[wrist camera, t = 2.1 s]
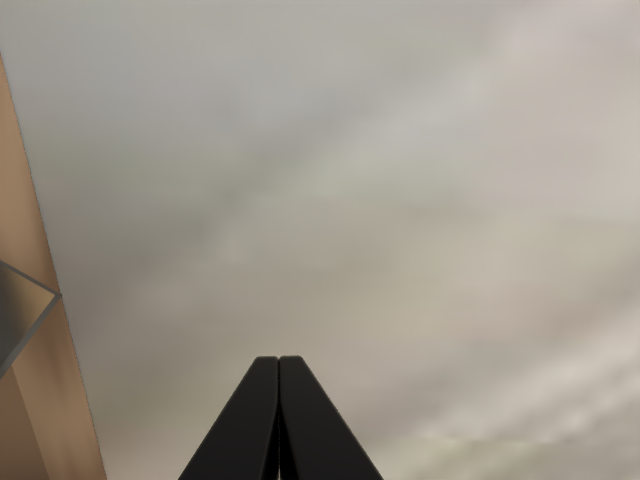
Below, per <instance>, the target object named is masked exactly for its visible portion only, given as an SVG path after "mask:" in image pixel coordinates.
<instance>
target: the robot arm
mask: <svg viewBox="0 0 640 480" xmlns="http://www.w3.org/2000/svg"><path fill="white" fill-rule="evenodd" d="M279 472H280V480H384V479H383V478H382V476H381V475H380V473H379V472H378V470H377V469H376V467H375V466H374V464H373V463H372V461H371V460H370V458H369V457H368V455H367V454H366V452H365V451H364V449H363V448H362V446H361V445H360V443H359V442H358V440H357V439H356V437H355V436H354V434H353V433H352V431H351V430H350V428H349V427H348V425H347V424H346V422H345V421H344V419H343V418H342V416H341V415H340V413H339V412H338V410H337V409H336V407H335V406H334V404H333V403H332V401H331V400H330V398H329V397H328V395H327V394H326V392H325V391H324V389H323V388H322V386H321V385H320V383H319V382H318V380H317V379H316V377H315V376H314V374H313V373H312V371H311V370H310V368H309V367H308V365H307V364H306V362H305V361H304V359H303V358H302V357H301V356H281V357H280V358H279V359H278V357H276V356H260V357H257V358H256V359H255V360H254V361H253V363H252V365H251V366H250V368H249V369H248V371H247V372H246V374H245V376H244V377H243V379H242V380H241V382H240V383H239V385H238V386H237V388H236V390H235V391H234V393H233V394H232V396H231V397H230V399H229V401H228V402H227V404H226V405H225V407H224V408H223V410H222V411H221V413H220V415H219V416H218V418H217V419H216V421H215V422H214V424H213V426H212V427H211V429H210V430H209V432H208V433H207V435H206V436H205V438H204V440H203V441H202V443H201V444H200V446H199V447H198V449H197V451H196V452H195V454H194V455H193V457H192V458H191V460H190V461H189V463H188V465H187V466H186V468H185V469H184V471H183V472H182V474H181V476H180V477H179V479H178V480H279Z"/></svg>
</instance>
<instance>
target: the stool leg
mask: <svg viewBox="0 0 640 480" xmlns="http://www.w3.org/2000/svg"><path fill="white" fill-rule="evenodd" d="M61 296H62V294H60V293H58V292H56V291H55V290H53V289H51V288H49V287H47V286H46V285H44V284H42V283H40V282H39V281H37V280H35V279H33V278H32V277H30V276H28V275H26V274H25V273H23V272H21V271H19V270H18V269H16V268H14V267H12V266H10V265H9V264H7V263H5V262H3V261H2V260H0V379H1V378H2V377H3V375H4V374H5V373H6V371H7V370H8V369H9V367H10V366H11V364H12V363H13V362H14V360H15V359H16V358H17V356H18V355H19V354H20V352H21V351H22V349H23V348H24V347H25V345H26V344H27V343H28V341H29V340H30V338H31V337H32V336H33V334H34V333H35V332H36V330H37V329H38V328H39V326H40V325H41V323H42V322H43V321H44V319H45V318H46V317H47V315H48V314H49V313H50V311H51V310H52V308H53V307H54V306H55V304H56V303H57V302H58V300H59V299H60V298H61Z"/></svg>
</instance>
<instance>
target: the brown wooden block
mask: <svg viewBox="0 0 640 480" xmlns="http://www.w3.org/2000/svg"><path fill="white" fill-rule="evenodd" d="M0 260H2V261H3V262H5V263H7V264H9V265H10V266H12V267H14V268H16V269H18V270H19V271H21V272H23V273H25V274H26V275H28V276H30V277H32V278H33V279H35V280H37V281H39V282H40V283H42V284H44V285H46V286H47V287H49V288H51V289H53V290H55V291H56V292H58V293H60V290H59V286H58V282H57V278H56V274H55V270H54V266H53V262H52V258H51V254H50V250H49V246H48V242H47V238H46V234H45V230H44V226H43V222H42V218H41V214H40V210H39V206H38V202H37V198H36V194H35V190H34V186H33V182H32V178H31V174H30V170H29V166H28V162H27V158H26V154H25V150H24V146H23V142H22V138H21V134H20V130H19V126H18V122H17V118H16V114H15V110H14V106H13V102H12V98H11V94H10V90H9V86H8V82H7V78H6V74H5V70H4V66H3V62H2V58H1V54H0ZM0 480H107V478H106V474H105V470H104V466H103V462H102V458H101V454H100V450H99V446H98V442H97V438H96V434H95V430H94V426H93V422H92V418H91V414H90V410H89V406H88V402H87V398H86V394H85V390H84V386H83V382H82V378H81V374H80V370H79V366H78V362H77V358H76V354H75V350H74V346H73V342H72V338H71V334H70V330H69V326H68V322H67V318H66V314H65V310H64V306H63V302H62V298H60V299H59V300H58V302H57V303H56V304H55V306H54V307H53V308H52V310H51V311H50V313H49V314H48V315H47V317H46V318H45V319H44V321H43V322H42V323H41V325H40V326H39V328H38V329H37V330H36V332H35V333H34V334H33V336H32V337H31V338H30V340H29V341H28V343H27V344H26V345H25V347H24V348H23V349H22V351H21V352H20V354H19V355H18V356H17V358H16V359H15V360H14V362H13V363H12V364H11V366H10V367H9V369H8V370H7V371H6V373H5V374H4V375H3V377H2V378H1V379H0Z"/></svg>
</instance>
